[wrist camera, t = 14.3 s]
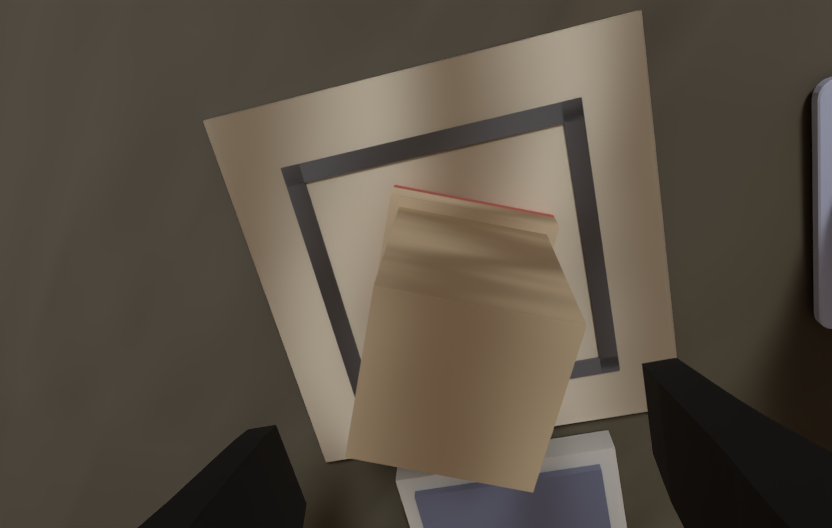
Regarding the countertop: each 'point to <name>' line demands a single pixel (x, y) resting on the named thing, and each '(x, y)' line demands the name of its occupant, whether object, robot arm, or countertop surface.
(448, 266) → the stamp
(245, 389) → the countertop surface
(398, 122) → the marked board
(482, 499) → the ink pad
